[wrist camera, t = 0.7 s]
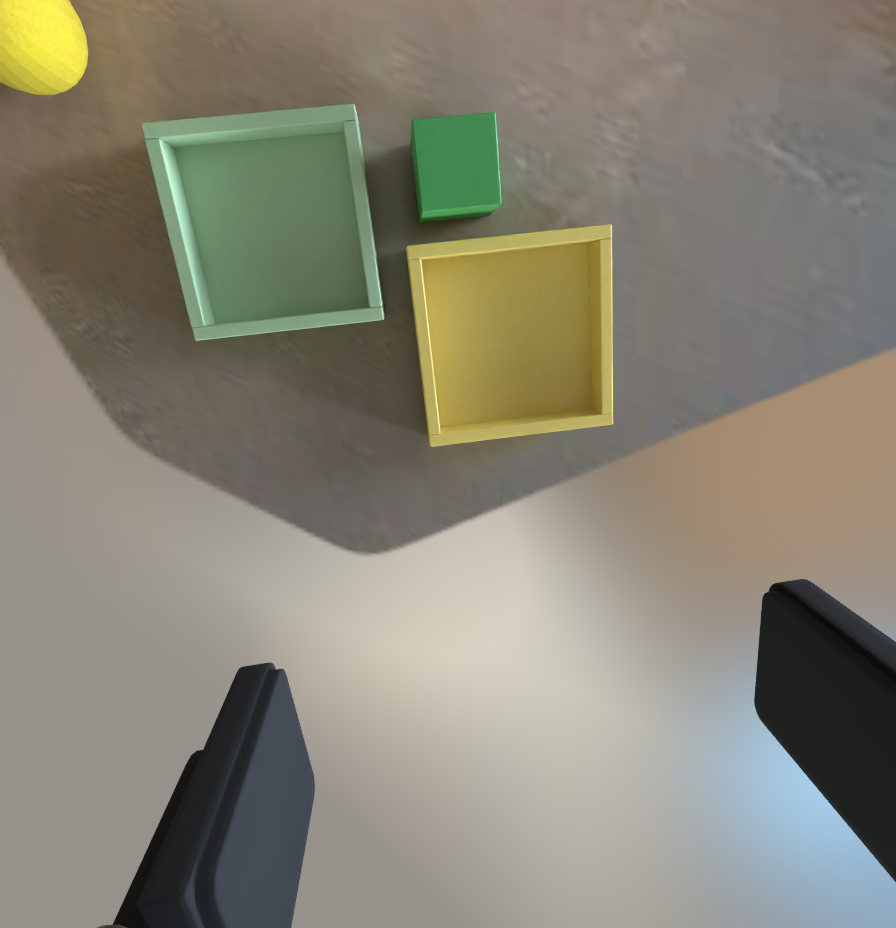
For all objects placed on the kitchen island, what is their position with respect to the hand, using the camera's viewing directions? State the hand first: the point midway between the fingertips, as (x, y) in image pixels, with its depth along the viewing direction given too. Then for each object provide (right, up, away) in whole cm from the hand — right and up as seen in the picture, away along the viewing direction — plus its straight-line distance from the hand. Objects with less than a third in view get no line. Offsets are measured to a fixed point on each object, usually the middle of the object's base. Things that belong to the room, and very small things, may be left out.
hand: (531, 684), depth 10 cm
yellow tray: (+3, +13, +26) cm, 29 cm away
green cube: (-1, +22, +23) cm, 32 cm away
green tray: (-12, +19, +23) cm, 32 cm away
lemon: (-23, +27, +19) cm, 40 cm away
